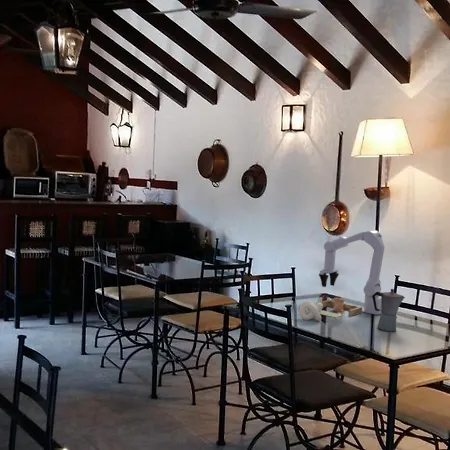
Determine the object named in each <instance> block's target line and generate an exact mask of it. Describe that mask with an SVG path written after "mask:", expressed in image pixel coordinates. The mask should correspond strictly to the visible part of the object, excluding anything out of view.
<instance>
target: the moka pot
mask: <svg viewBox="0 0 450 450" xmlns="http://www.w3.org/2000/svg"><path fill="white" fill-rule="evenodd" d="M376 295H378V296H379V297H380V298H381V308H382V310H381V312H382V313H381V314H380V316H379V320H378V323H377V329H379V330H381V331H385V332H390V333H391V332H392V331H393V332H396V331H397V318H398V317H397V314H398V311H399V308H400V305H401V304H402V302H403V300H404V299H405V298H406V297H405V296H404V295H402V294H399V293H395V289H393V288H391V289H390V291H388V292H387V291H385V292H383V291H382V292H381V291H380V292H376V293H375V294H374V295H373V296H372V298H373V302H374V308H375V310H376V311H380V309H377V306H376V300H375V296H376Z"/></svg>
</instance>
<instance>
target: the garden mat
mask: <svg viewBox="0 0 450 450" xmlns="http://www.w3.org/2000/svg"><path fill="white" fill-rule="evenodd" d="M320 315H322V316H326V317H330V318H338V317H342V316H343V314H341V313H338V312H331V311H327V310H321V311H320Z"/></svg>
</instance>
